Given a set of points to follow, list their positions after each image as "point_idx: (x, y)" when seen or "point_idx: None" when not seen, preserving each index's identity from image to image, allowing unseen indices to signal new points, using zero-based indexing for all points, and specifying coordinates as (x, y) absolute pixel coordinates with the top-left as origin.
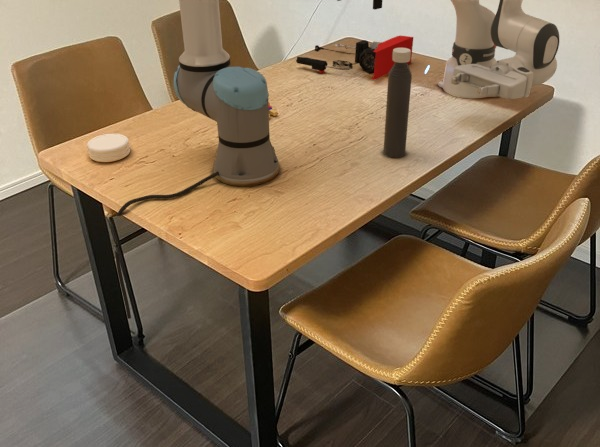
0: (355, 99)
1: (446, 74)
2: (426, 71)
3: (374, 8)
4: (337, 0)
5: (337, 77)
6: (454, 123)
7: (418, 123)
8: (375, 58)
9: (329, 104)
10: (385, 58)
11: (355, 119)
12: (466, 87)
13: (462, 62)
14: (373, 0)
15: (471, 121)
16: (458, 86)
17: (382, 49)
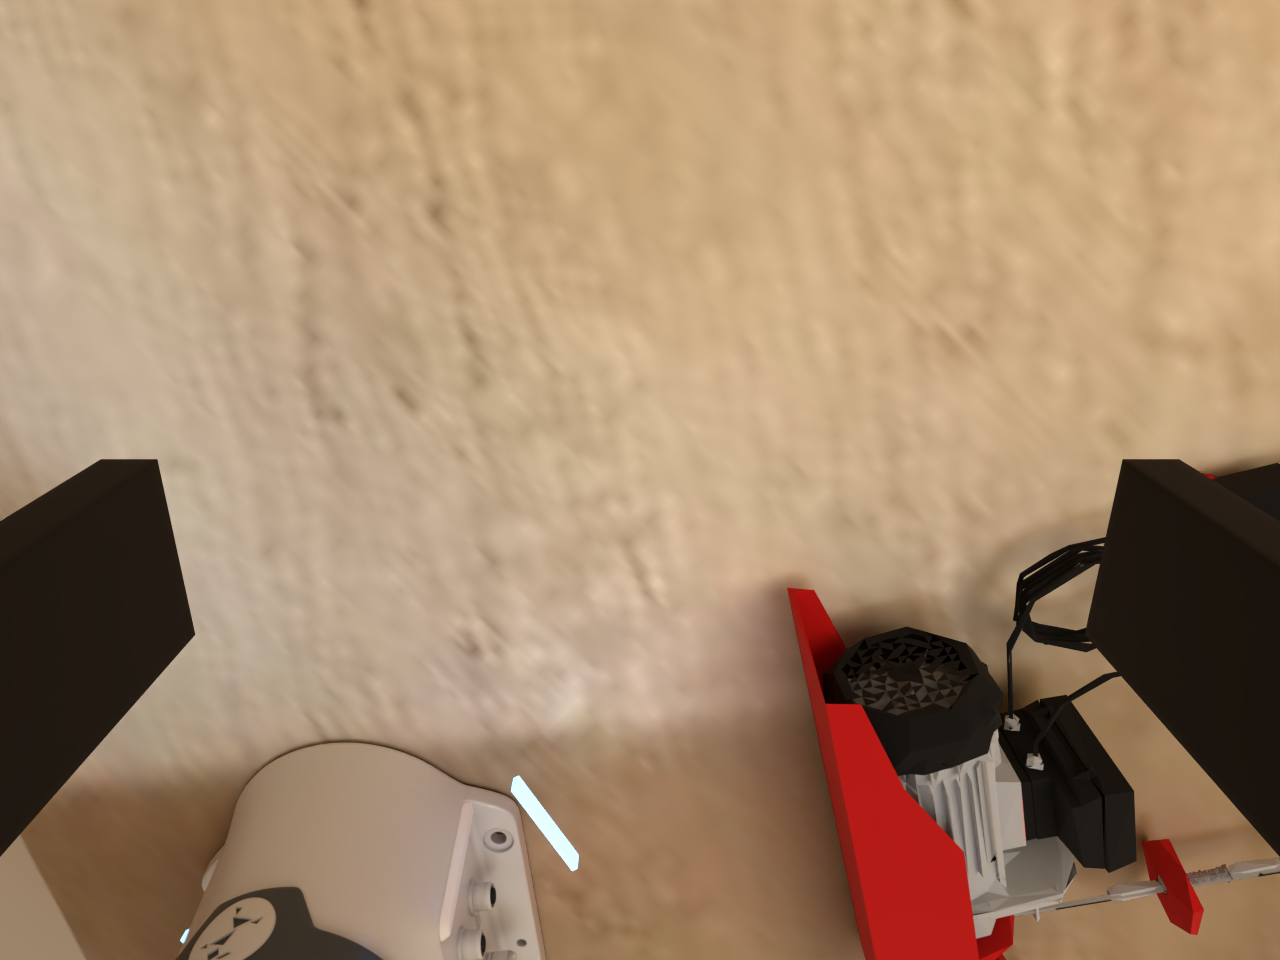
0: (688, 314)
1: (432, 847)
2: (522, 797)
3: (95, 464)
4: (1158, 459)
5: (1051, 508)
6: (38, 466)
7: (145, 315)
8: (816, 674)
9: (749, 109)
10: (832, 769)
11: (426, 49)
12: (269, 805)
13: (254, 912)
14: (40, 527)
15: None
16: (312, 791)
17: (842, 783)
